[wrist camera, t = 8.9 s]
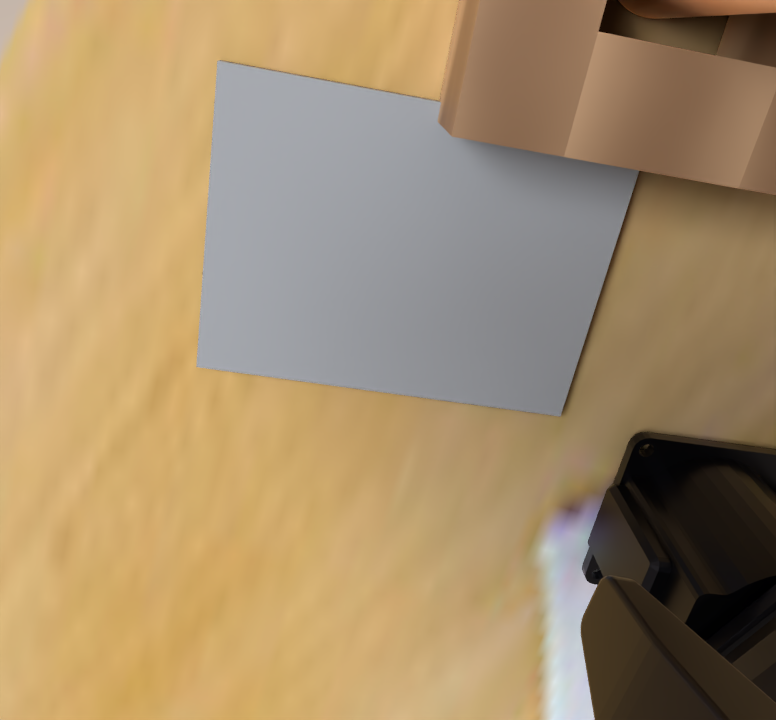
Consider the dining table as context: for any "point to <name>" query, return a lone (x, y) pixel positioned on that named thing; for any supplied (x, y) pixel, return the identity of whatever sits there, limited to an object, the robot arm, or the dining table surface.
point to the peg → (697, 7)
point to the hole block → (614, 92)
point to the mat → (396, 247)
